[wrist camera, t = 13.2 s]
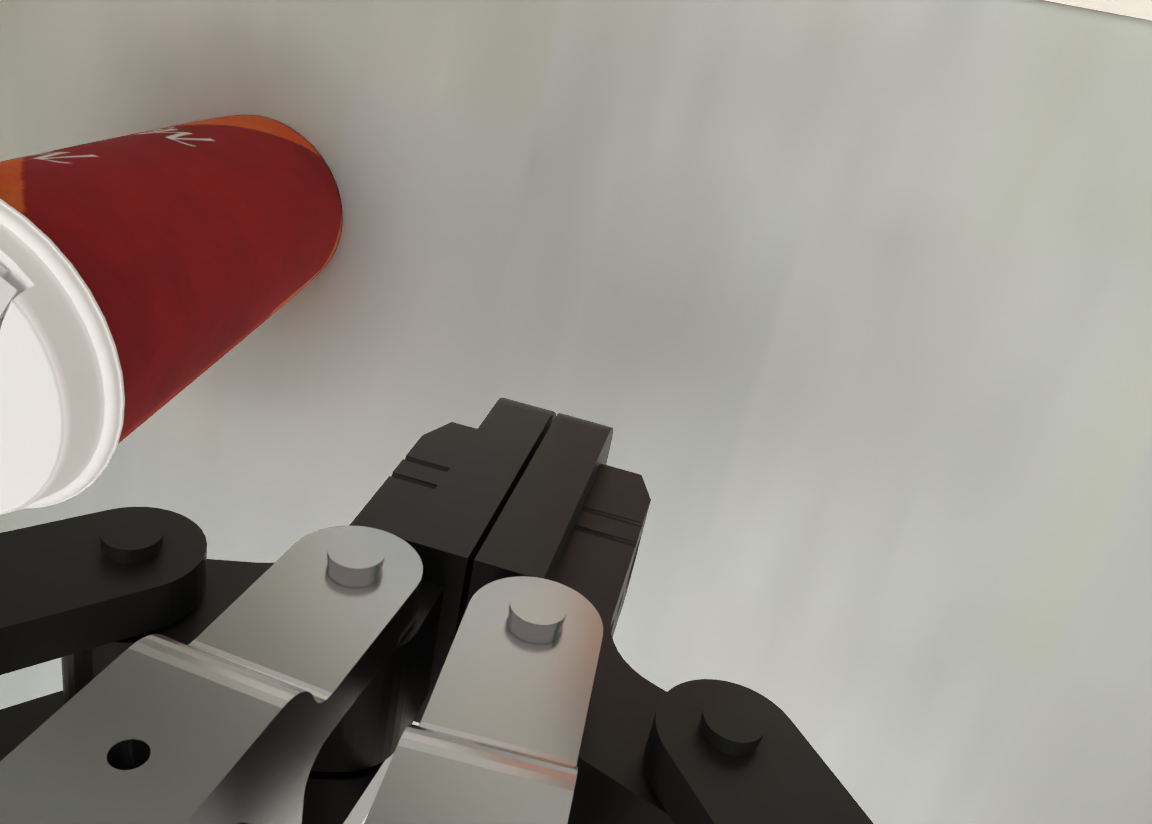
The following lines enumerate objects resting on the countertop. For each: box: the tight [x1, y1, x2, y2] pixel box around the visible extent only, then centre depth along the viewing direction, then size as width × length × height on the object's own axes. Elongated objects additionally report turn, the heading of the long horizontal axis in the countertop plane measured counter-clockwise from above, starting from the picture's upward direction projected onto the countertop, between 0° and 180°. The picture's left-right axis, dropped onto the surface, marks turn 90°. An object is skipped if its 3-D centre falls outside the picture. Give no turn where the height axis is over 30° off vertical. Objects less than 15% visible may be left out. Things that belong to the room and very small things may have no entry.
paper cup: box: [0, 115, 342, 515], centre depth 27 cm, size 8×8×14 cm
